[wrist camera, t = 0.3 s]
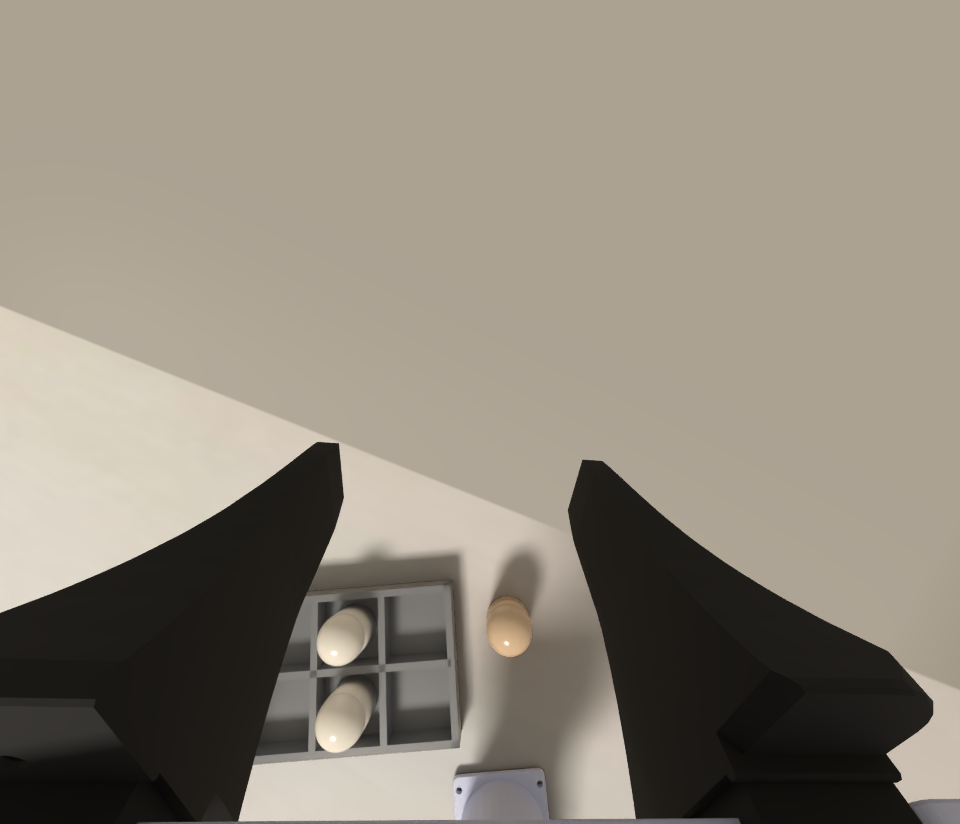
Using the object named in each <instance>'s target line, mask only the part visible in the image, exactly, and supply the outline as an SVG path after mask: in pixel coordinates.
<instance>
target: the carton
mask: <svg viewBox="0 0 960 824" xmlns="http://www.w3.org/2000/svg"><path fill="white" fill-rule="evenodd" d="M351 604H363V605H365V606H367V607H368V608H369V609H370V610H371V611H372V612H373V614H374V616H375V619H376V631H375V634H374V637H373V638H372V640H371V641H370V643H369V644H368V645H367V646H366V647H365V648H364V649H363V650H362V652H361V653H360V654H359V655H358V656H357V657H356V658H355V659H354V660H353V661H352V662H350V663H348V664H346V665H343V666H331V665H328V664H327V663H325V662H324V661H323V660H322V659H321V658H320V656H319V654H318V651H317V645H316V642H317V636H318V633H319V631H320V629H321V627H322V626H323V624H324V623H325V622H326V621H327V620H328V619H329V618H330V617H332V616H333V615H335V614H336V613H338V612H339V611H340V610H342V609H343V608H345V607H346V606H348V605H351ZM353 675H361V676H364V677H366V678H368V679H369V680H370V681H371V682H372V683H373V685H374V687H375V689H376V692H377V705H376V708H375V711H374V713H373V715H372V716H371V718H370V720H369V722H368V724H367V725H366V727H365V729H364V731H363V733H362V734H361V736H360V738H359V739H358V740H357V742H356V743H355V744H354V745H353V746H351V747H350V748H349V749H347V750H345V751H343V752H339V753H332V752H328V751H326V750H325V749H323V748H322V747H321V746H320V744H319V743H318V741H317V739H316V735H315V722H316V717H317V714H318V712H319V710H320V708H321V706H322V705H323V704H324V702H325V701H326V700H327V699H328V697H329V696H330V695H331V694H332V693H333V691H334V690H335V689H336V688H337V687H338V686H339V684H340V683H341V682H342V681H343V680H344V679H346V678H348V677H350V676H353ZM460 739H461V715H460V698H459V681H458V665H457V648H456V631H455V614H454V597H453V580H441V581H429V582H416V583H404V584H392V585H380V586H368V587H356V588H344V589H332V590H320V591H308V592H307V594H306V596H305V599H304V601H303V604H302V606H301V609H300V611H299V614H298V616H297V619H296V622H295V625H294V628H293V631H292V634H291V637H290V641H289V644H288V647H287V650H286V653H285V656H284V659H283V662H282V666H281V669H280V672H279V675H278V679H277V682H276V685H275V688H274V692H273V695H272V698H271V702H270V705H269V709H268V712H267V716H266V719H265V723H264V726H263V730H262V733H261V737H260V740H259V744H258V747H257V751H256V755H255V758H254V762H253V765H257V764H269V763H281V762H293V761H306V760H318V759H330V758H342V757H355V756H367V755H379V754H391V753H404V752H416V751H428V750H440V749H453V748H459V747H460Z"/></svg>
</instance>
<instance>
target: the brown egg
mask: <svg viewBox="0 0 960 824" xmlns="http://www.w3.org/2000/svg"><path fill="white" fill-rule="evenodd" d="M486 632H487V638H488V641H489V643H490V645H491V646H492V648H493V649H494V650H495V651H496V652H497V653H499V654H500V655H503V656H506V657H515V656H518V655H520V654H522V653H523V652H524V651H525V650H526V649H527V648H528V646H529V644H530V642H531V639H532V624H531V621H530V618H529V615H528V613H527V610H526V608H525V606H524V605H523V603H522V602H521V601H519V600H518V599H516V598H514V597H511V596H503V597H500V598H498V599H496V600H495V601H494V602H493V603H492V604H491V605H490V607H489V609H488V612H487V624H486Z"/></svg>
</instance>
